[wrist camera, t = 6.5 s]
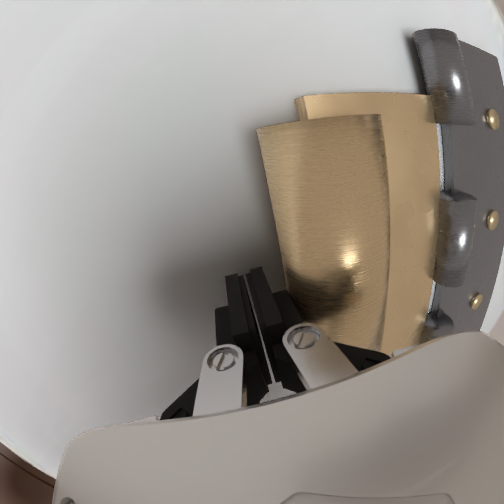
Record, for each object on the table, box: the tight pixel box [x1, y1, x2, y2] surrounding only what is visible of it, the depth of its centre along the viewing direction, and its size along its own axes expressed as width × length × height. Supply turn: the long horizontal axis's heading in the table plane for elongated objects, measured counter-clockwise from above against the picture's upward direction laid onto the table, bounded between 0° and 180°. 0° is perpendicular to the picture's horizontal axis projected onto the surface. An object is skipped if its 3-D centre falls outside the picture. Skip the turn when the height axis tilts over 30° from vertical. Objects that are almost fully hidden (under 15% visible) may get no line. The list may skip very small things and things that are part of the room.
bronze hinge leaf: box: [256, 93, 440, 355], centre depth 11 cm, size 16×9×4 cm, turn 12°
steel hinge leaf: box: [413, 29, 504, 344], centre depth 12 cm, size 24×10×3 cm, turn 12°
